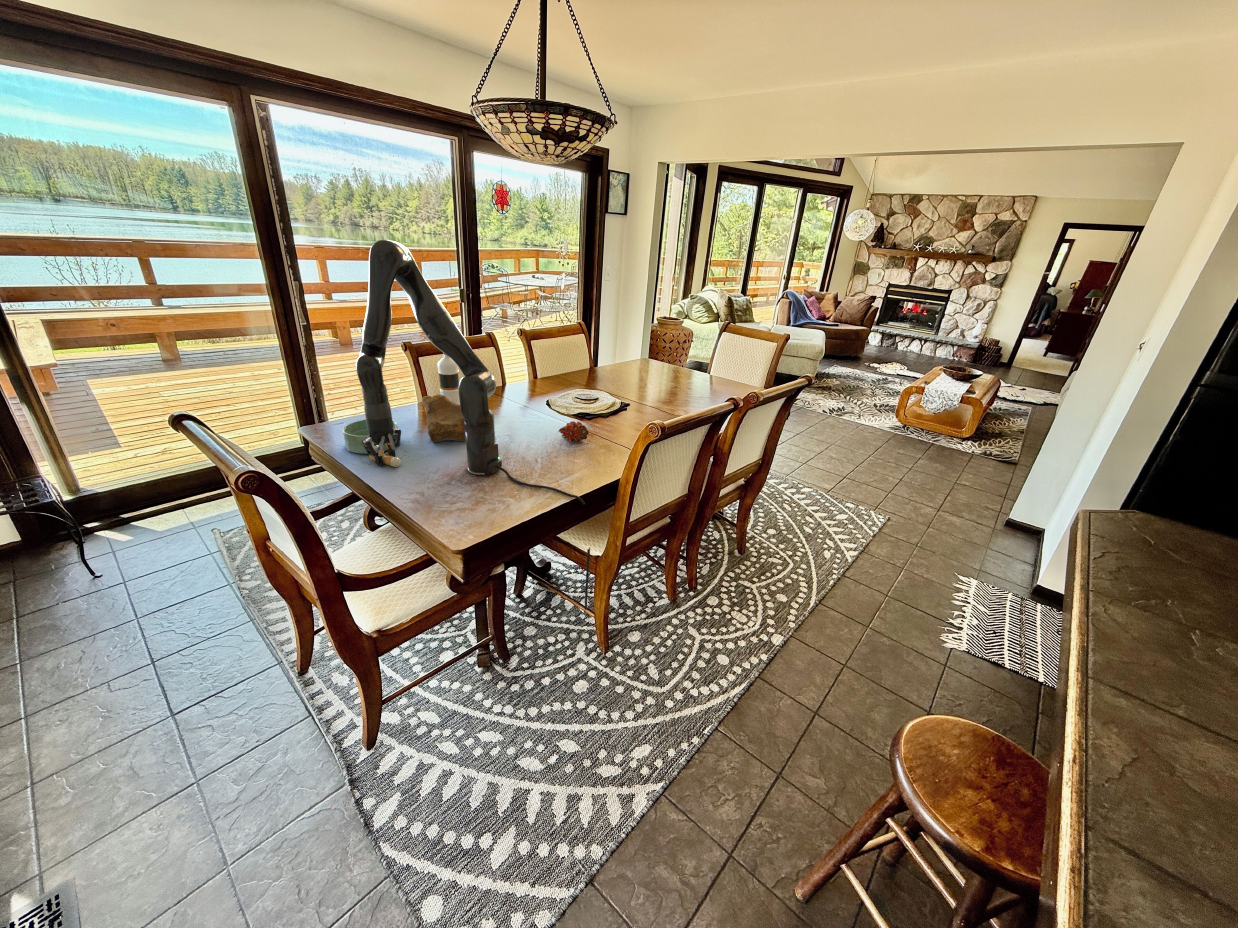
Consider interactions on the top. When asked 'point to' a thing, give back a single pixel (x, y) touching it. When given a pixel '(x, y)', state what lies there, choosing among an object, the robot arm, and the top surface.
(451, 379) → the vodka
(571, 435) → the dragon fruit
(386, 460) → the drumstick
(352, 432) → the green pet bowl
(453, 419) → the rough brown rock
